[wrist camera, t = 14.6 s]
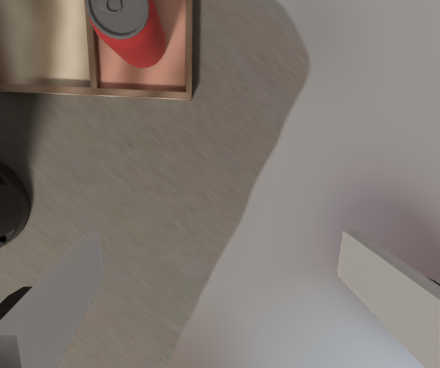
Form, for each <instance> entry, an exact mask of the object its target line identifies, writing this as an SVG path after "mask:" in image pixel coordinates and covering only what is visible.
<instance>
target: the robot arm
mask: <svg viewBox="0 0 440 368" xmlns="http://www.w3.org/2000/svg"><path fill="white" fill-rule="evenodd" d="M28 216H29V200H28V196H27V193H26V190H25V188H24V186H23V184H22V183H21V181H20V180H19V178H18V177H17V176H16V175H15V174H14V173H13V172H12V171H11V170H10V169H9V168H8V167H7V166H5V165H4V164H2V163H1V162H0V248H1V247H3V246H4V245H6V244H7V243H9V242H10V241H12V240H13V239H14V238H16V237H17V236H18V235H19V234H20V233H21V231H22V230H23V229H24V227H25V225H26V223H27V220H28ZM337 275H338V276H339V277H340V279H342V281H343V282H344V283H345V284H346V285H347V286H348V287H349V288H350V289H351V290H352V291H353V292H354V293H355V294H356V295H357V296H358V298H359V299H360V300H361V301H363V303H364V304H365V305H366V306H367V307H368V308H369V309H370V310H371V311H372V312H373V313H374V314H375V316H376V317H377V318H378V319H379V320H380V321H381V322H382V323H383V324H384V325H385V326H386V327H387V328H388V329H389V330H390V331H391V332H392V334H393V335H394V336H395V337H396V338H397V339H398V340H399V341H400V342H401V343H402V344H403V345H404V346H405V347H406V348H407V349H408V350H409V351H410V352H411V354H412V355H413V356H414V357H415V358H416V359H417V360H418V361H419V362H420V363H421V364H422V365H423V366H424V367H425V368H440V284H439V283H437V282H436V281H434V280H431V279H429V278H427V277H425V276H423V275H422V274H420V273H419V272H418V271H416V270H415V269H413V268H412V267H410V266H409V265H407V264H406V263H404V262H403V261H401V260H400V259H398V258H397V257H395V256H393V255H392V254H390V253H389V252H387V251H386V250H385V249H383V248H382V247H380V246H379V245H377V244H376V243H374V242H373V241H371V240H370V239H368V238H367V237H365V236H364V235H362V234H361V233H359V232H358V231H356V230H355V231H354V230H352V231H343V236H342V242H341V249H340V256H339V262H338V269H337ZM103 281H104V280H103V267H102V253H101V239H100V233H84V234H83V235H82V236H81V237H80V238H79V239H78V240H77V241H76V242H75V243H74V244H73V245H72V246H71V247H70V248H69V249H68V250H67V251H66V252H65V254H64V255H63V256H62V257H61V258H60V259H59V260H58V261H57V262H56V263H55V264H54V265H53V266H52V267H51V268H50V269H49V270H48V271H47V272H46V273H45V274H44V275H43V276H42V277H41V278H40V280H39V281H38V282H37V283H36V284H35V285H34V286H33V287H22V288H21V289H19V290H17V291H16V292H14V293H12V294H10V295H9V296H8V297H7V298H6V299H4V300H3V301H2V302H1V303H0V368H56V366H57V365H58V363H59V361H60V359H61V357H62V355H63V354H64V352H65V350H66V348H67V346H68V345H69V343H70V341H71V339H72V337H73V336H74V334H75V332H76V330H77V328H78V326H79V325H80V323H81V321H82V319H83V317H84V316H85V314H86V312H87V310H88V308H89V307H90V305H91V303H92V301H93V299H94V297H95V296H96V294H97V292H98V290H99V288H100V287H101V285H102V283H103Z"/></svg>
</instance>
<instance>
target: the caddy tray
mask: <svg viewBox="0 0 440 368" xmlns="http://www.w3.org/2000/svg"><path fill="white" fill-rule="evenodd" d="M153 1H154V3H155V5H156V8H157V11H158V15H159V18H160V21H161V24H162V27H163V31H164V34H165V39H166V48H165V52H164V54H163V57H162V59H161V60H160V61H159V62H158V63H157V64H155V65H153V66H151V67H148V68H138V67H134V66H132V65H130V64H128V63H127V62H126V61H124V60H123V59H122V58H121V57H120V56H119V55H118V54H117V53H116V52H114V51H113V50H112V49H111V48H110V47H109V46H108V45H107V44H106V43H105V42H104V41H103V40H102V39H101V38H100V37H99V36H98V35H97V34H96V32H95V30H94V28H93V26H92V24H91V22H90V18H89V15H88V12H87V7H86V0H0V91H2V92H23V93H45V94H67V95H90V96H112V97H134V98H157V99H179V100H192V10H193V0H153Z"/></svg>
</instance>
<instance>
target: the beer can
mask: <svg viewBox="0 0 440 368" xmlns="http://www.w3.org/2000/svg"><path fill="white" fill-rule="evenodd" d="M86 7H87V12H88V15H89V18H90V22H91V24H92V26H93V28H94V30H95V32H96V34H97V35H98V36H99V37H100V38H101V39H102V40H103V41H104V42H105V43H106V44H107V45H108V46H109V47H110V48H111V49H112V50H113V51H114V52H116V53H117V54H118V55H119V56H120V57H121V58H122V59H123V60H124V61H126V62H127V63H128V64H130V65H132V66H134V67H138V68H148V67H151V66H153V65H155V64H157V63H158V62H159V61H160V60H161V59H162V57H163V54H164V52H165V48H166V39H165V34H164V31H163V27H162V24H161V21H160V18H159V15H158V11H157V8H156V5H155V3H154V1H153V0H86Z"/></svg>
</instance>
